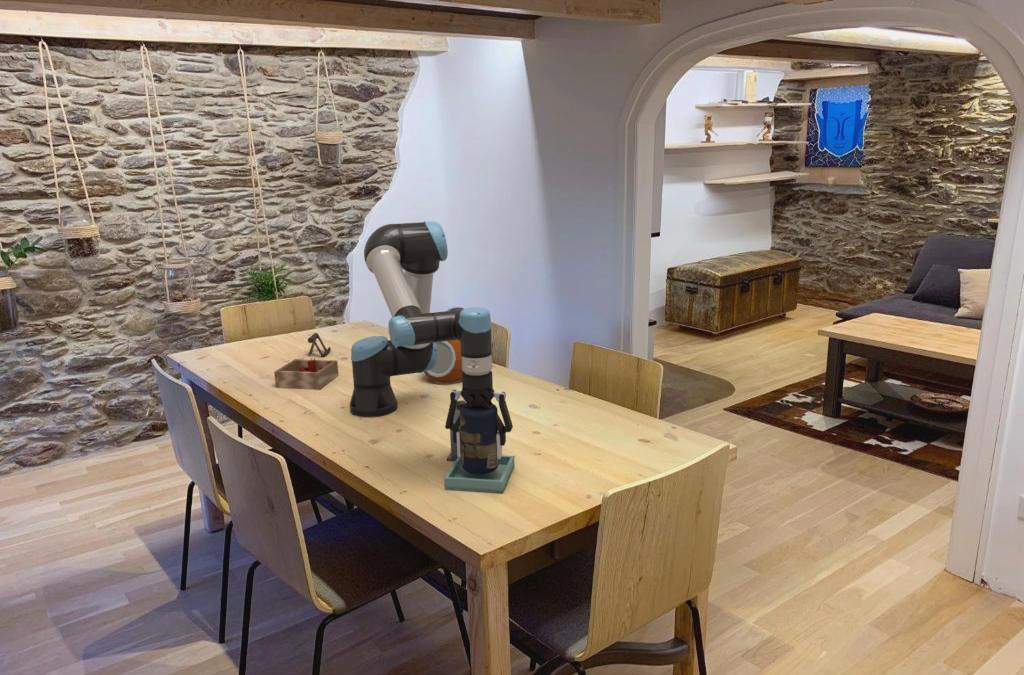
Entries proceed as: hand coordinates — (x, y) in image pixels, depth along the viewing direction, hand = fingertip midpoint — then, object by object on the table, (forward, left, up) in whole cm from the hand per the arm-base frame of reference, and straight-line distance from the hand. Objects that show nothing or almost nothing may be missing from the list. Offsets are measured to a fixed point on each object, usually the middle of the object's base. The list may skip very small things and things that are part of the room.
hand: (479, 455), depth 188 cm
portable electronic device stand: (-93, +105, -6) cm, 140 cm away
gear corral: (-81, +70, -6) cm, 107 cm away
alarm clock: (-31, +80, -6) cm, 86 cm away
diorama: (-78, +72, -6) cm, 107 cm away
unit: (-6, +13, -6) cm, 15 cm away
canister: (0, 0, -4) cm, 4 cm away
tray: (0, 0, -6) cm, 6 cm away
